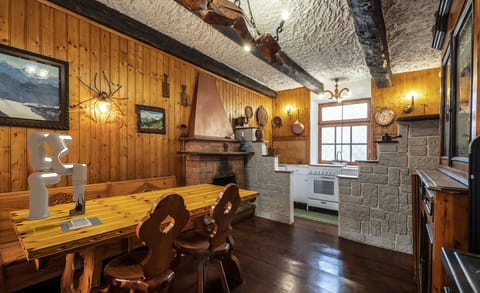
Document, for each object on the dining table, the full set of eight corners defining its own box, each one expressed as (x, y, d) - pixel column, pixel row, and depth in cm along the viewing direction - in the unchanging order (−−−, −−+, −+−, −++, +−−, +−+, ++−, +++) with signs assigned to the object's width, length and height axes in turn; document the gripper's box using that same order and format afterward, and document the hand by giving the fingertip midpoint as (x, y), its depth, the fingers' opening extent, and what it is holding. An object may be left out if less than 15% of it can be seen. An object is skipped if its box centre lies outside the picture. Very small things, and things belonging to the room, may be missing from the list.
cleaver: (69, 217, 147) (70, 191, 148) (69, 216, 151) (69, 190, 151) (85, 215, 153) (86, 190, 154) (84, 213, 157) (85, 189, 157)
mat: (59, 224, 134) (59, 223, 134) (96, 217, 148) (96, 216, 148) (62, 233, 120) (62, 231, 120) (103, 224, 134) (103, 223, 134)
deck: (70, 219, 134) (72, 223, 127) (85, 217, 140) (88, 220, 133) (70, 223, 134) (72, 227, 127) (85, 220, 140) (88, 224, 133)
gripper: (70, 182, 140) (69, 209, 140) (73, 184, 130) (73, 214, 129) (84, 181, 145) (83, 207, 145) (88, 183, 135) (87, 212, 134)
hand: (78, 210), depth 137 cm, fingers closed
